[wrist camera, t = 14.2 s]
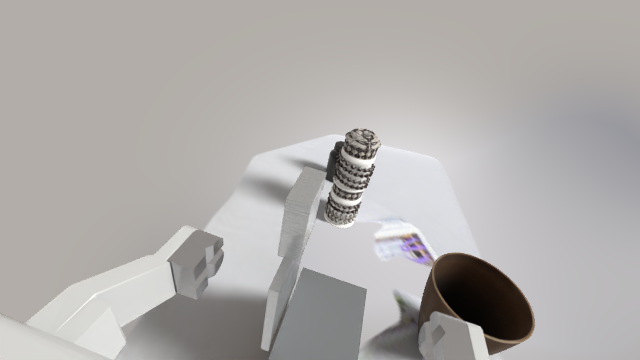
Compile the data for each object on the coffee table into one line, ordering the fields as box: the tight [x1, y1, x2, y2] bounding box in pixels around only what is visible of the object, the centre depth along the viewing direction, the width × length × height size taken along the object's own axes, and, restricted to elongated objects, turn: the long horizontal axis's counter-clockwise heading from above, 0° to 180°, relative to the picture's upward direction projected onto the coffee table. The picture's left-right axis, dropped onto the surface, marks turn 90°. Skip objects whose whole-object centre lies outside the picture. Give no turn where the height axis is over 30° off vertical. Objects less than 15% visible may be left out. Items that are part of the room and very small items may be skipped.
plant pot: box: [418, 253, 535, 355], centre depth 46 cm, size 15×15×16 cm
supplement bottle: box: [326, 141, 344, 182], centre depth 86 cm, size 7×7×12 cm
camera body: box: [268, 268, 366, 360], centre depth 40 cm, size 16×10×14 cm, turn 165°
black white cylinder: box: [324, 128, 381, 228], centre depth 67 cm, size 9×9×25 cm
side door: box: [261, 166, 327, 351], centre depth 31 cm, size 10×2×20 cm, turn 165°
